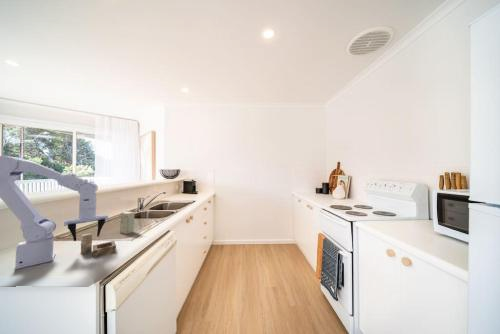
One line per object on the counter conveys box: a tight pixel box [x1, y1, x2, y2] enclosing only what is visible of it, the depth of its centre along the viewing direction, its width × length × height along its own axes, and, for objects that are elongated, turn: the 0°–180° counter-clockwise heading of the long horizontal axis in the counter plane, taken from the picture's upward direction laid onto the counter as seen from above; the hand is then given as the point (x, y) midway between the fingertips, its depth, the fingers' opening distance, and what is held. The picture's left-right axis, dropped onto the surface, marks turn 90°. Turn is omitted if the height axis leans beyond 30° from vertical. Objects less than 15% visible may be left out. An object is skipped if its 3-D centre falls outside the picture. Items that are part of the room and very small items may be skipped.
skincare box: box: [119, 210, 135, 235], centre depth 105 cm, size 6×4×12 cm
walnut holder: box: [92, 240, 117, 258], centre depth 79 cm, size 8×8×3 cm
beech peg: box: [80, 233, 93, 255], centre depth 78 cm, size 4×4×8 cm
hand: (87, 238), depth 78 cm, fingers open, 7 cm apart
